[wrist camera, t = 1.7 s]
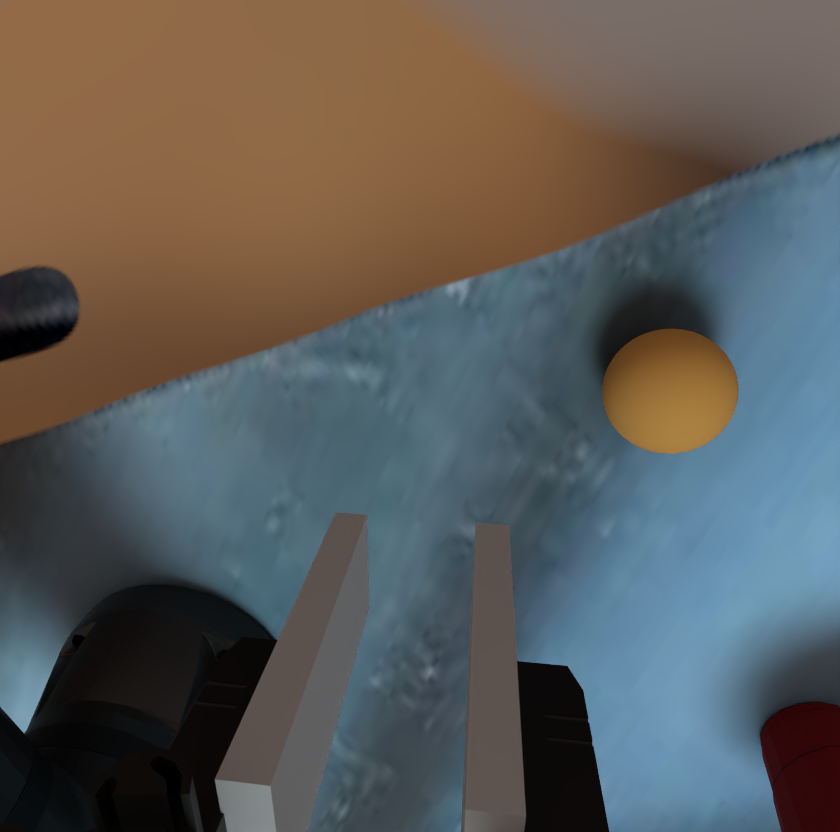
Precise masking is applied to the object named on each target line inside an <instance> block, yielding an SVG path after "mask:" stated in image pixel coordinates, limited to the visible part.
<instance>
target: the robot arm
mask: <svg viewBox="0 0 840 832" xmlns="http://www.w3.org/2000/svg"><path fill="white" fill-rule="evenodd" d="M368 610H369V573H368V531H367V515H360V514H347V513H335V515H334V517H333V519H332V522H331V524H330V526H329V528H328V530H327V533H326V535H325V537H324V539H323V541H322V544H321V546H320V548H319V550H318V552H317V555H316V557H315V559H314V561H313V564H312V566H311V568H310V570H309V572H308V575H307V577H306V579H305V581H304V583H303V586H302V588H301V590H300V592H299V594H298V597H297V599H296V601H295V603H294V605H293V608H292V610H291V612H290V614H289V616H288V619H287V621H286V623H285V625H284V628H283V630H282V632H281V634H280V636H279V639H278V640H272V639H271V638H270V636H269V635H268V634H267V633H266V632H265V631H264V630H263V629H262V628H261V627H260V626H259V625H258V624H257V623H255V622H254V621H253V620H252V619H251V618H249V617H248V616H246V615H245V614H244V613H242V612H241V611H239V610H238V609H236V608H234V607H233V606H231V605H229V604H227V603H225V602H223V601H221V600H219V599H217V598H215V597H212V596H210V595H207V594H204V593H201V592H198V591H195V590H191V589H186V588H181V587H175V586H166V585H148V586H139V587H133V588H129V589H125V590H122V591H119V592H117V593H114V594H112V595H111V596H109V597H107V598H105V599H104V600H102V601H101V602H100V603H98V604H97V605H96V606H95V607H94V608H93V609H92V610H91V611H90V612H89V614H88V615H87V616H86V617H85V618H84V619H83V620H82V621H81V622H80V623H79V625H78V626H77V627H76V628H75V629H74V630H73V631H72V633H71V634H70V636H69V637H68V639H67V640H66V642H65V643H64V645H63V647H62V649H61V651H60V654H59V657H58V659H57V661H56V663H55V665H54V668H53V670H52V672H51V675H50V677H49V680H48V682H47V684H46V687H45V689H44V691H43V694H42V696H41V698H40V701H39V703H38V705H37V708H36V710H35V712H34V715H33V717H32V719H31V722H30V724H29V726H28V728H27V730H26V732H25V733H23V732H22V731H21V730H20V729H19V727H18V726H17V725H16V724H15V723H14V722H13V721H12V720H11V719H10V717H9V716H8V715H7V714H6V713H5V712H4V711H3V710H2V709H1V707H0V832H307V831H308V828H309V824H310V821H311V817H312V813H313V810H314V806H315V802H316V799H317V795H318V792H319V788H320V784H321V781H322V777H323V773H324V770H325V766H326V762H327V759H328V755H329V752H330V748H331V744H332V741H333V737H334V733H335V730H336V726H337V723H338V719H339V715H340V712H341V708H342V704H343V701H344V697H345V694H346V690H347V686H348V683H349V679H350V675H351V672H352V668H353V665H354V661H355V657H356V654H357V650H358V646H359V643H360V639H361V636H362V632H363V628H364V625H365V621H366V617H367V614H368ZM461 832H609V828H608V823H607V817H606V812H605V807H604V801H603V796H602V790H601V785H600V779H599V774H598V769H597V763H596V758H595V752H594V747H593V746H592V736H591V731H590V725H589V723H588V714H587V709H586V703H585V698H584V692H583V689H582V688H581V686H580V685H579V683H578V682H577V680H576V679H575V677H574V676H573V674H572V673H571V671H570V669H569V668H568V666H561V665H551V664H540V663H530V662H519V661H517V654H516V637H515V620H514V603H513V586H512V569H511V552H510V535H509V525H497V524H483V523H476V529H475V545H474V561H473V577H472V593H471V609H470V630H469V654H468V679H467V703H466V727H465V751H464V775H463V799H462V823H461Z"/></svg>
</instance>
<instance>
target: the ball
mask: <svg viewBox="0 0 840 832" xmlns="http://www.w3.org/2000/svg"><path fill="white" fill-rule="evenodd" d="M602 397H603V404H604V408H605V411H606V414H607V416H608V418H609V420H610V422H611V423H612V425H613V426H614V428H615V429H616V430H617V431H618V432H619V433H620V434H621V435H622V436H623V437H624V438H625V439H627V440H628V441H629V442H631V443H632V444H634V445H636V446H638V447H640V448H643V449H645V450H648V451H652V452H656V453H682V452H687V451H690V450H693V449H696V448H698V447H701V446H703V445H705V444H706V443H708V442H710V441H711V440H712V439H714V438H715V437H716V436H717V435H718V434H719V433H720V432H722V430H723V429H724V428H725V427H726V426H727V424H728V422H729V421H730V419H731V417H732V415H733V413H734V410H735V407H736V404H737V399H738V381H737V376H736V372H735V369H734V367H733V365H732V363H731V361H730V359H729V358H728V356H727V355H726V354H725V352H724V351H723V350H722V349H721V348H720V347H719V346H718V345H717V344H715V343H714V342H713V341H711V340H710V339H708V338H706V337H704V336H702V335H700V334H698V333H695V332H692V331H688V330H683V329H674V328H672V329H659V330H655V331H651V332H648V333H645V334H642V335H640V336H638V337H636V338H634V339H633V340H631V341H630V342H628V343H627V344H626V345H625V346H623V347H622V348H621V349H620V350H619V351H618V353H617V354H616V355H615V356H614V358H613V359H612V361H611V362H610V364H609V366H608V368H607V370H606V373H605V376H604V380H603V389H602Z"/></svg>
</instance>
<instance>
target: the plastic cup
mask: <svg viewBox="0 0 840 832" xmlns="http://www.w3.org/2000/svg"><path fill="white" fill-rule="evenodd" d="M760 736H761V746H762V755H763V760H764V763H765V767H766V770H767V774H768V777H769V780H770V784H771V787H772V791H773V799H774V804H775V808H776V812H777V816H778V820H779V824H780V827H781V831H782V832H840V707H839V706H837V705H832V704H826V703H820V702H814V703H804V704H797V705H794V706H791V707H789V708H786V709H784V710H781V711H779V712H778V713H777V714H775V715H774V716H773V717H772V718H770V719H769V720H768V721H767V722H766V724H765V726H764V728H763V730H762V732H761V734H760Z"/></svg>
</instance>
